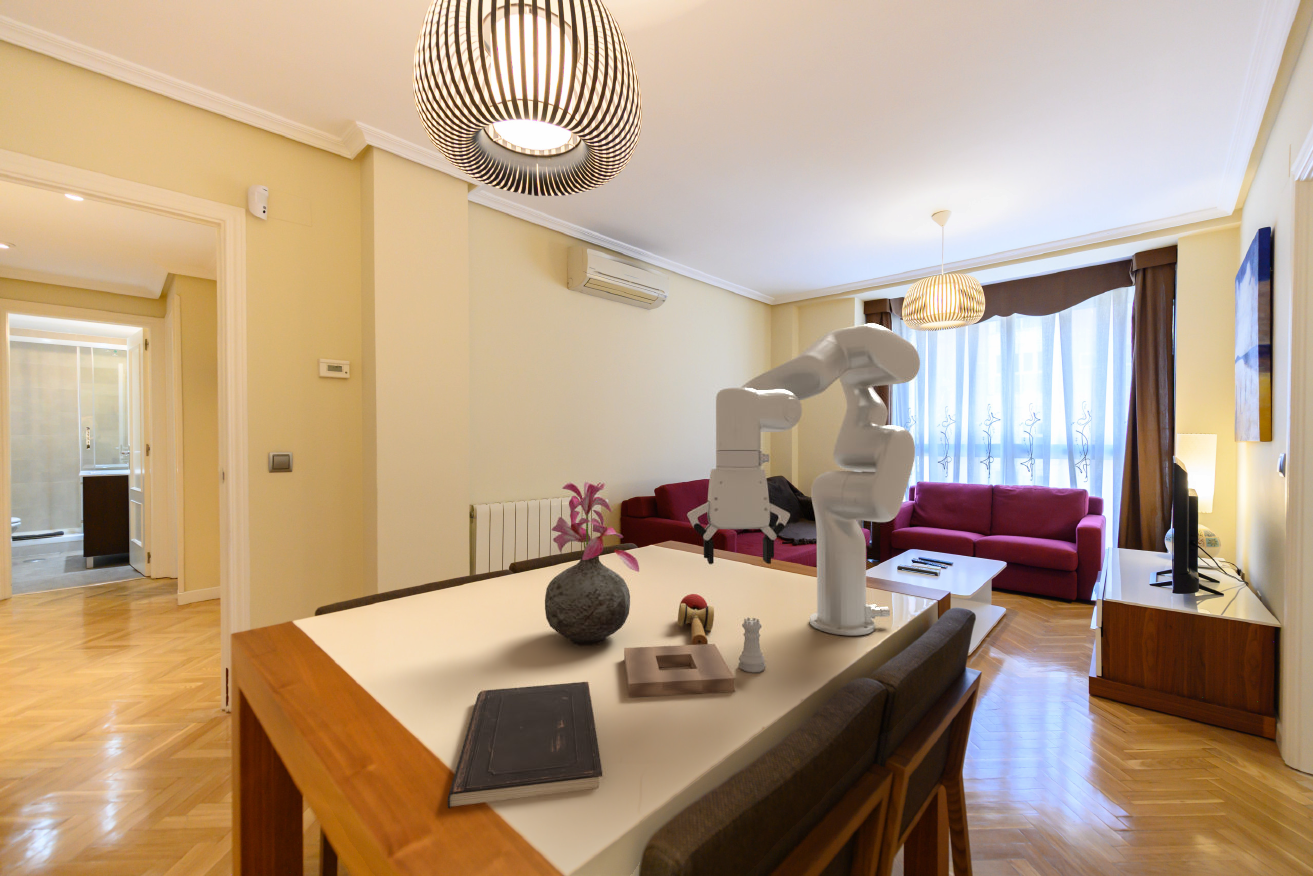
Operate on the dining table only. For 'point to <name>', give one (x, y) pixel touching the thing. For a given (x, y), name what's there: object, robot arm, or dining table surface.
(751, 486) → the robot arm
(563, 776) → the hardcover book
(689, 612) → the kendama
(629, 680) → the board
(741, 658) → the rook chess piece
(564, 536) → the vase
